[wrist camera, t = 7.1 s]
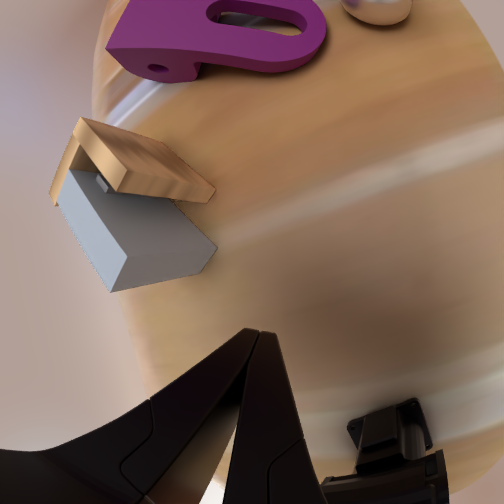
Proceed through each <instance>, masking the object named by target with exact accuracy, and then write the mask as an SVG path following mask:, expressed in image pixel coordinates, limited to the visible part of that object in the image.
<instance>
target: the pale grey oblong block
mask: <svg viewBox="0 0 504 504" xmlns="http://www.w3.org/2000/svg"><path fill="white" fill-rule="evenodd" d="M57 203H58V205H59V207H60V209H61V211H62V213H63V215H64V217H65V219H66V220H67V222H68V224H69V226H70V228H71V230H72V231H73V233H74V235H75V237H76V239H77V241H78V242H79V244H80V246H81V247H82V249H83V251H84V253H85V254H86V256H87V258H88V259H89V261H90V262H91V264H92V266H93V267H94V269H95V270H96V272H97V273H98V275H99V277H100V278H101V279H102V281H103V283H104V284H105V286H106V287H107V289H108V290H109V292H110V293H111V292H116V291H121V290H125V289H130V288H135V287H140V286H144V285H149V284H154V283H158V282H163V281H167V280H172V279H177V278H181V277H186V276H190V275H195V274H199V273H200V272H201V270H202V269H203V268H204V266H205V265H206V263H207V262H208V261H209V259H210V258H211V256H212V255H213V254H214V252H215V251H216V249H217V247H216V246H215V245H214V244H213V243H212V242H211V241H210V240H209V239H208V238H207V237H206V236H205V235H204V234H203V233H202V232H201V231H200V230H199V229H198V228H197V227H196V226H195V225H194V224H193V223H192V222H191V221H190V220H189V219H188V218H187V217H186V216H185V215H184V214H183V213H182V212H181V211H180V210H179V209H178V208H177V207H176V206H175V205H174V203H173V202H172V201H171V200H170V199H169V198H163V197H156V196H148V195H140V194H132V193H124V192H116V191H115V190H114V188H113V187H112V186H111V185H110V183H109V182H108V181H107V179H106V178H105V177H104V176H103V174H100V173H94V172H87V171H80V170H73V169H68V172H67V174H66V177H65V179H64V182H63V185H62V187H61V190H60V193H59V195H58V198H57Z"/></svg>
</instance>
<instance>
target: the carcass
mask: <svg viewBox="0 0 504 504" xmlns="http://www.w3.org/2000/svg"><path fill="white" fill-rule="evenodd" d="M68 169H73V170H80V171H87V172H94V173H100V174H103V176H104V177H105V178H106V179H107V181H108V182H109V183H110V185H111V186H112V187H113V188H114V190H115V191H116V192H124V193H132V194H140V195H148V196H156V197H163V198H171V199H178V200H185V201H192V202H199V203H205V204H207V202H208V201H209V199H210V198H211V196H212V195H213V194H214V192H215V191H216V189H215V188H214V187H213V186H211V185H210V184H209V183H208V182H207V181H206V180H205V179H203V178H202V177H201V176H200V175H199V174H198V173H197V172H195V171H194V170H193V169H192V168H191V167H190V166H188V165H187V164H186V163H185V162H184V161H183V160H181V159H180V158H179V157H178V156H177V155H176V154H175V153H173V152H172V151H171V150H170V149H169V148H168V147H166V146H165V145H164V144H163V143H162V142H159V141H156V140H154V139H151V138H148V137H145V136H142V135H139V134H136V133H133V132H130V131H126V130H123V129H120V128H117V127H114V126H111V125H107V124H104V123H101V122H97V121H94V120H90V119H87V118H83V117H80V119H79V121H78V123H77V125H76V127H75V129H74V131H73V134H72V136H71V138H70V140H69V143H68V145H67V147H66V149H65V151H64V154H63V156H62V159H61V161H60V164H59V166H58V169H57V171H56V174H55V177H54V179H53V182H52V185H51V188H50V191H49V195H50V197H51V199H52V201H53V203H54V205H55V206H59V205H58V203H57V198H58V195H59V193H60V190H61V187H62V185H63V182H64V179H65V177H66V174H67V172H68Z"/></svg>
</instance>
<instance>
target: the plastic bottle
mask: <svg viewBox="0 0 504 504" xmlns="http://www.w3.org/2000/svg"><path fill="white" fill-rule="evenodd" d="M340 2H341V4H342V6H343V7H344V8H345V10H346V11H347V12H348V13H350V14H351V15H353V16H354V17H356V18H357V19H359V20H361V21H363V22H366V23H369V24H374V25H393V24H396V23H398V22H400V21H402V20H403V19H405V18H406V17H407V16H408V14H409V11H410V8H411V5H412V0H340Z"/></svg>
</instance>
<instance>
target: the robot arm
mask: <svg viewBox="0 0 504 504" xmlns="http://www.w3.org/2000/svg"><path fill="white" fill-rule="evenodd" d="M412 403H416V404H415V405H411V404H412ZM236 425H237V427H236ZM351 426H355V427H351ZM235 427H236V433H235V438H234V444H233V450H232V455H231V460H230V466H229V471H228V477H227V482H226V487H225V493H224V498H223V503H222V504H449V489H448V479H447V472H446V466H445V460H444V454H443V449H441V450H438V451H435V452H436V453H433V454H430V455H427V456H426V451H427V450H429V449H431V448H432V446H433V443H432V439H431V436H430V432H429V429H428V426H427V423H426V420H425V417H424V414H423V411H422V408H421V405H420V402H419V400H418V399H417V398H412V399H410V400H407V401H405V402H403V403H400V404H398V405H395V406H391V407H388V408H386V409H383V410H380V411H378V412H375V413H372V414H369V415H366V416H365V417H363V418H360V419H357V420H353V421H351V422H349V423H348V425H347V430H348V432H349V434H350V436H351V438H352V440H353V442H354V444H355V446H356V448H357V449H358V453H357V458H356V463H355V467H354V472H353V474H352V475H346V476H339V477H334V476H331V477H326V478H325V479H324V481H323V482H322V483H321V485H320V484H319V482H318V479H317V477H316V474H315V471H314V468H313V465H312V462H311V459H310V455H309V452H308V448H307V445H306V441H305V439H304V434H303V431H302V427H301V423H300V419H299V416H298V412H297V408H296V404H295V401H294V397H293V393H292V390H291V386H290V382H289V378H288V375H287V371H286V367H285V363H284V360H283V356H282V352H281V349H280V345H279V341H278V338H277V335H276V334H275V333H272V332H266V331H261V332H260V331H259V330H255V329H250V328H244V329H242V330H241V331H240V332H238V333H237V334H236V335H235V336H233V337H232V338H231V339H229V340H228V341H227V342H226V343H224V344H223V345H222V346H220V347H219V348H218V349H216V350H215V351H214V352H212V353H211V354H210V355H208V356H207V357H206V358H204V359H203V360H202V361H200V362H199V363H198V364H196V365H195V366H194V367H192V368H191V369H189V370H188V371H187V372H185V373H184V374H183V375H181V376H180V377H178V378H177V379H176V380H174V381H173V382H171V383H170V384H169V385H167V386H166V387H164V388H163V389H161V390H160V391H159V392H157V393H156V394H154V395H153V396H151V397H150V400H149V399H147V400H145V401H144V402H143V403H141V404H139V405H138V406H137V407H135V408H133V409H132V410H130V411H129V412H127V413H125V414H124V415H122V416H120V417H119V418H117V419H115V420H113V421H112V422H109V423H108V424H106V425H103V426H102V427H100V428H97V429H95V430H93V431H91V432H89V433H87V434H85V435H82V436H80V437H78V438H75V439H73V440H71V441H69V442H66V443H64V444H61V445H59V446H57V447H54V448H50V449H47V450H42V451H30V452H29V451H15V450H5V449H0V504H199V503H200V501H201V499H202V497H203V495H204V493H205V491H206V489H207V487H208V485H209V483H210V481H211V479H212V477H213V475H214V473H215V471H216V468H217V466H218V464H219V462H220V460H221V458H222V456H223V454H224V451H225V449H226V447H227V445H228V443H229V441H230V438H231V436H232V434H233V432H234V430H235ZM426 445H428V446H426Z"/></svg>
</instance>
